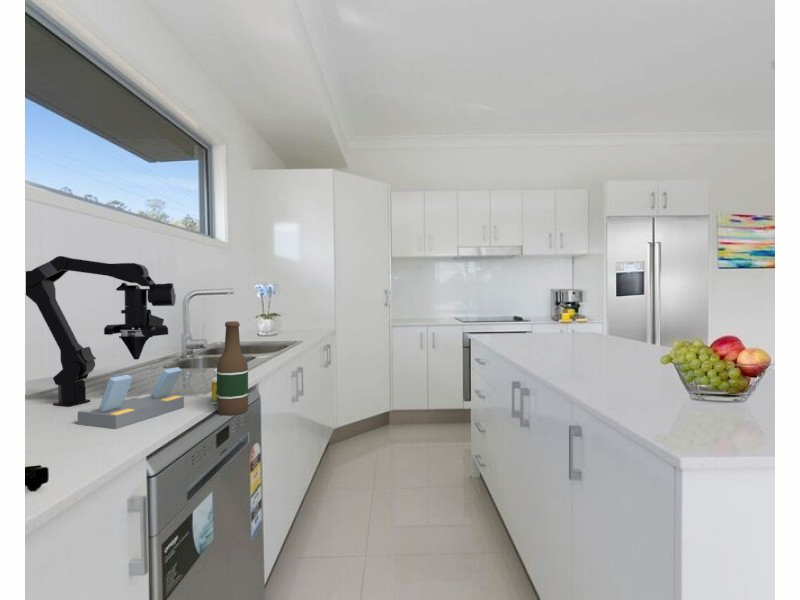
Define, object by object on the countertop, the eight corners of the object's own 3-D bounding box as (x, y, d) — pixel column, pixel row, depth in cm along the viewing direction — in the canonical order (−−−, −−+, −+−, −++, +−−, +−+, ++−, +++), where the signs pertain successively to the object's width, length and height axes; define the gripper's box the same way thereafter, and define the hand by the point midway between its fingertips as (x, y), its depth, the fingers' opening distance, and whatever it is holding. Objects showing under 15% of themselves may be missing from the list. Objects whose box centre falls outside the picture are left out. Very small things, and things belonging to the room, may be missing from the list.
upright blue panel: (98, 410, 110) (109, 378, 108) (117, 405, 114) (128, 374, 113) (102, 413, 109) (114, 381, 108) (121, 408, 114) (132, 377, 113)
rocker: (150, 396, 124) (163, 369, 122) (165, 392, 129) (178, 367, 127) (154, 399, 124) (167, 373, 122) (168, 395, 128) (182, 370, 127)
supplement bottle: (229, 399, 137) (229, 367, 137) (233, 403, 132) (233, 369, 132) (209, 402, 134) (209, 369, 134) (213, 405, 129) (213, 371, 129)
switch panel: (77, 424, 111) (77, 411, 111) (149, 404, 131) (149, 393, 131) (115, 428, 107) (115, 415, 107) (183, 407, 127) (183, 396, 127)
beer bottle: (230, 417, 117) (229, 322, 117) (210, 413, 121) (210, 321, 121) (254, 411, 124) (254, 321, 123) (235, 407, 128) (234, 320, 127)
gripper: (182, 305, 141) (182, 357, 141) (134, 305, 147) (135, 354, 147) (152, 306, 130) (152, 362, 130) (102, 306, 136) (103, 359, 136)
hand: (136, 359), depth 136 cm, fingers closed
